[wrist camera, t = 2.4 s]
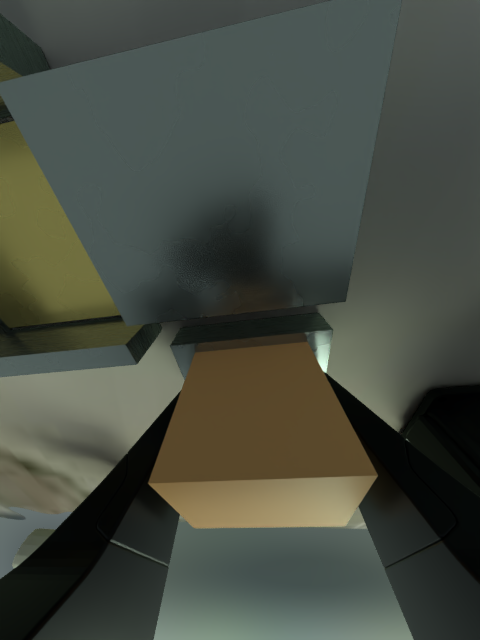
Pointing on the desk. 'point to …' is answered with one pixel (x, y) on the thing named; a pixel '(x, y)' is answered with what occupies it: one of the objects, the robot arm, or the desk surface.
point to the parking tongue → (254, 337)
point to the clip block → (261, 443)
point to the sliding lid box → (183, 179)
